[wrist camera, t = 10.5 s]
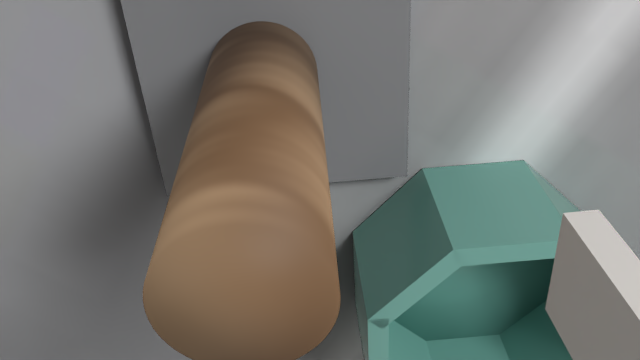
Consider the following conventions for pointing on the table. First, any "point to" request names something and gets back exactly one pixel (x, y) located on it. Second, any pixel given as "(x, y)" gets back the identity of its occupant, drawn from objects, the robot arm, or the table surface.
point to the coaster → (332, 65)
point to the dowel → (249, 210)
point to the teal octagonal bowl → (461, 266)
